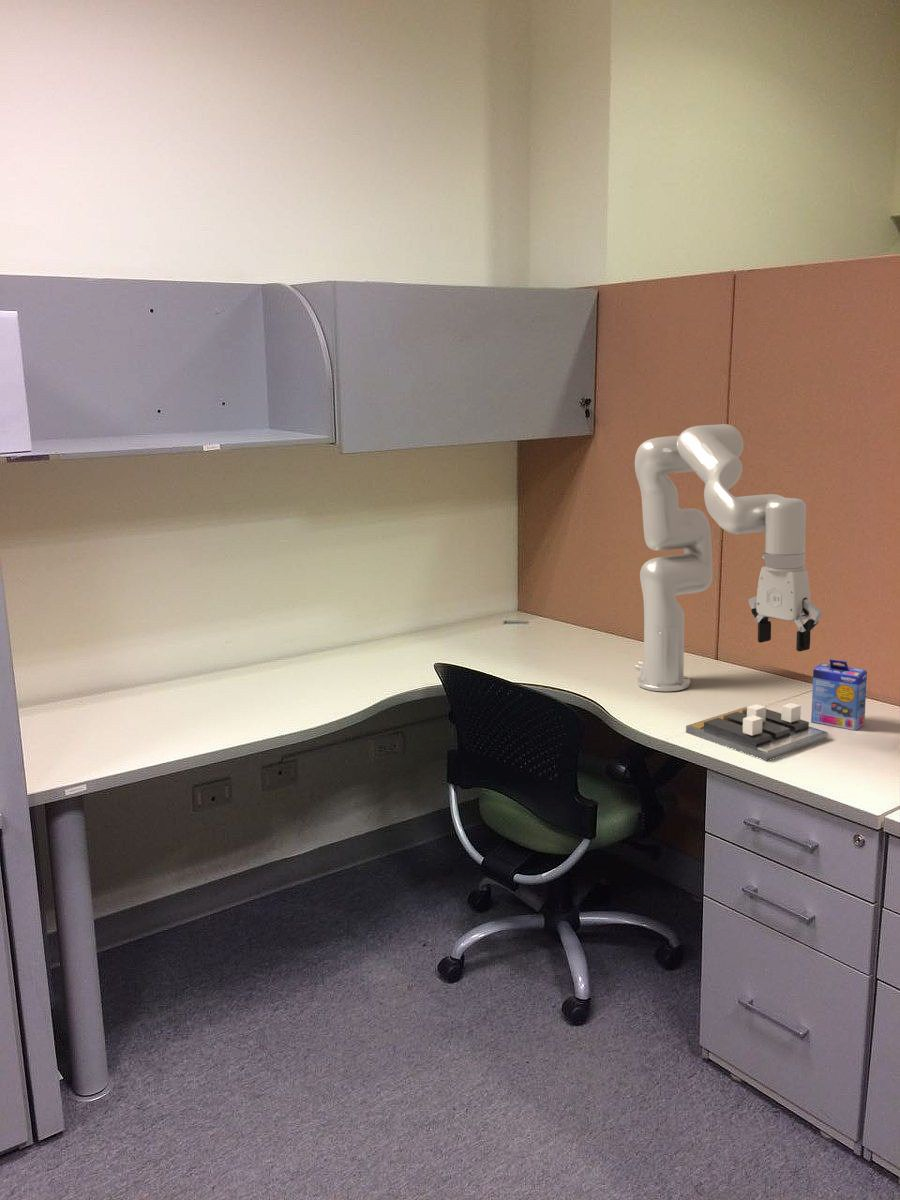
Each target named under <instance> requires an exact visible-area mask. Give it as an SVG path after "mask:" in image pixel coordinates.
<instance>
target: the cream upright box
mask: <svg viewBox="0 0 900 1200" xmlns="http://www.w3.org/2000/svg"><path fill="white" fill-rule="evenodd" d="M762 720H763V718H760V717H757V716H754V715H752V716H749V717H746V718H743V733H746V734H749V735H752V736H753V735H756V734H759V733H762Z"/></svg>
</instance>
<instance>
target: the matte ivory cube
mask: <svg viewBox="0 0 900 1200" xmlns="http://www.w3.org/2000/svg"><path fill="white" fill-rule="evenodd" d="M746 707H747V717H749V716H752V715H754V716H757V717H760V718H763V720H762V722H763V721H766V709H767V707H766V706H764V705H760V704H756V703H755V704H752V705H749V706H746Z"/></svg>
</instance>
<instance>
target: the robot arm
mask: <svg viewBox="0 0 900 1200" xmlns="http://www.w3.org/2000/svg"><path fill="white" fill-rule="evenodd" d="M743 450H744V439H743V436H742V434H741V432H740V431H739V430H738V429H737V428H736V427H735V426H733V425H732V424H728V423H727V424H726V423H722V424H720V423H719V424H718V423H717V424H705V425H704V424H703V425H695V426H691V427H688V428H686V429H685V430H682V432H681V433H680V434H679V435H669V436H668V435H667V436H659V437H654V438H650V439H647V440H645V441H643V442H642V443H641V444H640V445H639V446H638V448H637V450H636V452H635V457H634V471H635V476H636V479H637V483H638V486H639V490H640V494H641V509H642V525H643V526H642V527H643V538H644V541H645V542H644V543H645V544H646V546H647V548H648V549H650V550H652V551H655V552H656V551H657V552H661V551H662V552H666V551H673V550H674V551H675V550H683V553H684V554H674V555H673V554H672V555H666V556H658V557H654V558H650V559H648V560H647V561H645V562H644V563H643V565H642V566H641V568H640V572H639V579H640V580H639V581H640V586H641V592H642V598H643V623H644V626H643V629H644V630H643V635H644V637H643V651H644V652H643V660H642V659H641V660H639V661H638V662H637V663H636V664H635V665H634V670H636V671H640V676H638V677H637V679H636V681H637V685H638V686H639V687H641V688H643V689H645V690H648V691H652V692H653V691H654V692H664V693H665V692H678V691H682V690H685V689H687V688H689V687H690V685H691V680H690V678H689V677H688V676H686V675H684V672H685V671H684V670H685V669H684V667H685V664H684V663H685V613H684V609H683V607H682V606H681V605H680V603H679V601H678V599H677V598H676V597H677V596H681V595H688V594H696V593H701V592H705V591H706V590H707V589H708V588H709V587H710V586H711V584H712V581H713V575H714V572H713V571H714V569H713V567H714V566H713V551H712V547H713V546H712V531H711V526H710V522H709V519H708V517H707V516H706V514H705V513H704V512H703V511H702V510H701V509H698V508H692V507H690V508H688V507H687V508H680V505H679V492H678V489H677V487H676V485H675V483H674V482H673V480H672V479H671V477H669V475H668V474H677V473H678V474H679V473H690V472H691V473H692V472H694V473H695V474H696V475H697V476H698V477H699V479H700V480H701V481H702V482H703V483H704V490H703V498H704V504H705V508H706V511H707V512H708V515H710V517H711V519H713V521H714V522H715V523H716V524H717V525H718V526H719V527H720V528H721V529H722V530H723V531H725V532H727V533H729V534H732V535H745V534H753V533H754V534H755V533H765V534H764V552H763V553H762V554H761V558H762V559H761V560H764V566H762V567H761V569H760V572H759V577H758V582H757V589H756V590H757V591H756V595H754V596H753V597H751V598H749V599H748V600H747V601H748V605H749V607H750V610H751V614H752V615H753V617H754V621H755V623H757V642H758V643H765V642H769V641H771V639H772V622H771V621H770V619H774V620H779V621H786V622H794V623H795V626H797V629H798V630H797V631H796V641H795V642H796V643H795V646H796V647H795V648H796V651H797V652H803V651H809V650H810V648H811V647H810V646H811V631H812V630H814V629H815V627H816V626H817V625H818V623H819V620H820V618H821V617H822V615H823V611H822V610H821V609H820V608H819V607H817V606H816V605H815V604H814V603H813V602H812V601H811V589H810V580H809V579H810V578H809V574H808V570H807V569H806V567H805V566H806V532H807V531H806V530H807V529H806V528H807V525H806V522H807V505H806V502H805V501H804V500H803V499H800V498H795V497H785V496H783V495H780V494H776V493H775V494H774V493H768V494H767V493H765V494H755V495H754V494H752V495H745V496H742V495H741V496H735V495H733V494H731V492H730V491H729V490H730V489H731V488H732V487H734V486H735V485H736V484H737V482H739V480H740V479H741V476H742V473H743V469H744V468H743V463H742V462H741V460H740V459H739V457H741V455H742V454H743V453H742V452H743ZM809 617H810V618H809Z"/></svg>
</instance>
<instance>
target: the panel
mask: <svg viewBox="0 0 900 1200" xmlns="http://www.w3.org/2000/svg"><path fill="white" fill-rule="evenodd" d="M747 707H748V706H743V707H741V708H738V709H735V710H732V711H728V712H726V713H723V714H718V715H716V716H715V715H714V716H713V717H709V718H706V719H703V720H701V721H697V722H694V723H691V724H686V725H685V733H687V734H690V735H692V736H695V737H698V738H700V739H703V740H706V741H708V740H709V742H711V743H714V742H715V744H717V743H718V744H717V745H719V746H722V745H724V747H725V746H727V747H726V748H728V747H729V748H728V749H731V748H733V749H732V750H734V749H736V750H739V751H742V752H744V753H743V754H745V753H746V755H747V754H749V755H748V756H750V755H753V756H755V757H754V758H756V757H758V758H757V759H759V758H761V759H763V760H762V761H764V760H766V761H765V762H769V761H771V760H770V759H772V760H774V759H773V758H775V759H777V758H780V757H782V755H783V756H786V755H788V754H790V752H791V753H793V751H794V752H796V750H797V751H799V750H801V748H802V749H805V748H807V747H810V746H813V745H816V744H818V743H821V742H824V741H827V740H828V736H829V732H828V731H825V730H822V729H820V728H819V729H818V728H816V727H814V726H813V727H812V726H810V722H809V721H807V720H805V719H804V720H803V719H801V718H800V720H797V721H794V722H788V721H784V720H781V715H782V712H777V711H774V710H770V709H767V708H766V721H763V722H762V733H759V734H756V735H753V736H752V735H749V734H746V733H743V718H746V717H747ZM798 749H799V750H798ZM736 750H735V751H736ZM739 751H738V752H739ZM742 752H741V753H742ZM785 754H786V755H785ZM753 756H752V757H753ZM779 756H780V757H779ZM776 757H777V758H776ZM761 759H760V760H761ZM768 760H769V761H768Z"/></svg>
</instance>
